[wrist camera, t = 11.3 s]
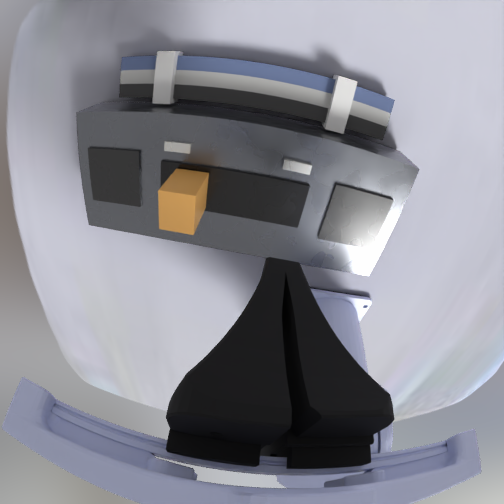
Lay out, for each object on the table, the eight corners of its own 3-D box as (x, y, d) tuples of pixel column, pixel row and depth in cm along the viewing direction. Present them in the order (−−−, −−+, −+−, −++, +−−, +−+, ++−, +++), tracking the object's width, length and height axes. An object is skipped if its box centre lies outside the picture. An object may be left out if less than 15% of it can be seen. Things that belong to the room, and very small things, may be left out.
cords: (376, 140, 17) (384, 146, 16) (125, 99, 16) (115, 102, 15) (390, 94, 15) (399, 97, 14) (129, 53, 14) (117, 53, 13)
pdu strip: (359, 248, 23) (369, 277, 20) (109, 203, 22) (87, 226, 19) (399, 151, 17) (420, 170, 14) (103, 102, 17) (74, 113, 14)
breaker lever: (205, 207, 17) (193, 235, 15) (175, 202, 17) (159, 228, 15) (209, 172, 16) (195, 196, 14) (176, 168, 16) (158, 190, 13)
